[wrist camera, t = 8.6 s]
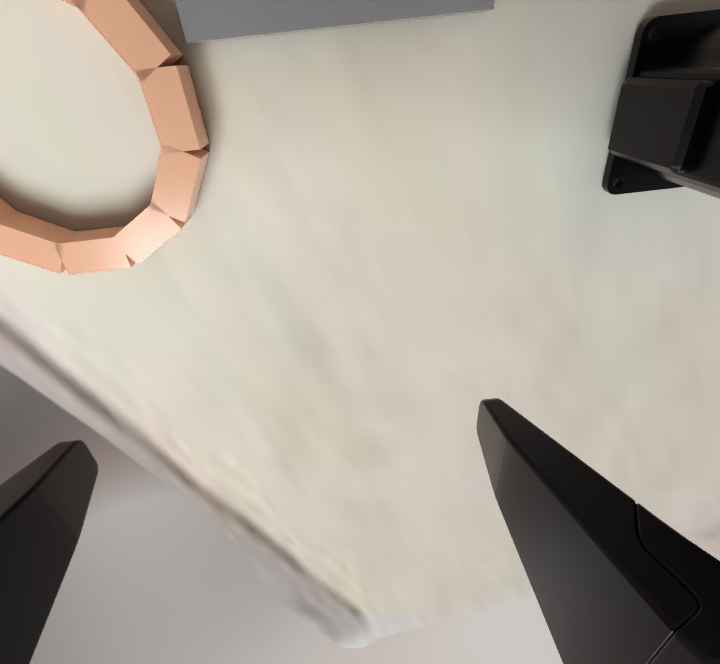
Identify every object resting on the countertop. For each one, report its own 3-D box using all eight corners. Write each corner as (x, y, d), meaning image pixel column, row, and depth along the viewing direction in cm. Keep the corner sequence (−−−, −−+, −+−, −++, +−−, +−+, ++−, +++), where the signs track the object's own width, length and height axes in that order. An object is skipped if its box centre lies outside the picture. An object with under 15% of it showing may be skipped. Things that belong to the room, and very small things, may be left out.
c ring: (145, -94, 13) (126, -110, 12) (236, 243, 19) (230, 256, 18) (-217, -56, 13) (-275, -68, 12) (-9, 271, 19) (-32, 286, 18)
